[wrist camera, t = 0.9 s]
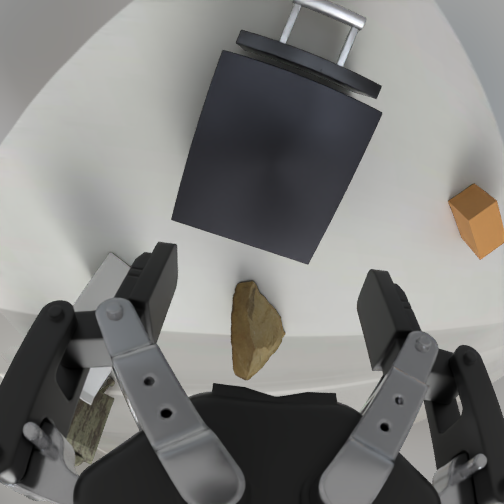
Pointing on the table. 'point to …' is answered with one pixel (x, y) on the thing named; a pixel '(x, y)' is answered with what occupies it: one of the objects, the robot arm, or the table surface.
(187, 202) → the black drawer cabinet
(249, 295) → the rock
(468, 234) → the cardboard box
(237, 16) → the table surface
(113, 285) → the milk carton
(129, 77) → the table surface
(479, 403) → the robot arm
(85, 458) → the tabletop clock
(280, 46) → the drawer
